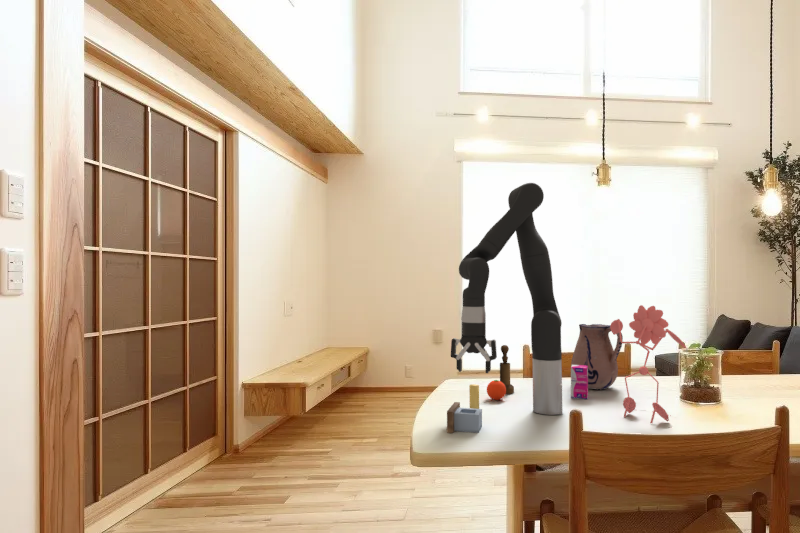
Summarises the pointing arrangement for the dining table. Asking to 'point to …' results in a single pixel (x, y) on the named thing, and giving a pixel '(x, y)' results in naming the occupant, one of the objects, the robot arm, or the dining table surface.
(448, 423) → the wall
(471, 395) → the dowel
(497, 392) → the clementine
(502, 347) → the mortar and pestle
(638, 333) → the figurine
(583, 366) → the supplement box
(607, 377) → the ceramic pitcher
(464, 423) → the socket block
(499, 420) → the dining table surface
